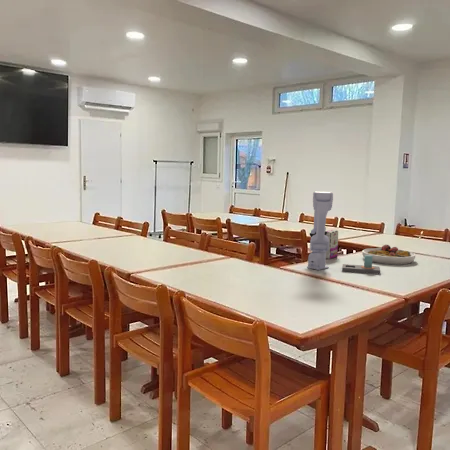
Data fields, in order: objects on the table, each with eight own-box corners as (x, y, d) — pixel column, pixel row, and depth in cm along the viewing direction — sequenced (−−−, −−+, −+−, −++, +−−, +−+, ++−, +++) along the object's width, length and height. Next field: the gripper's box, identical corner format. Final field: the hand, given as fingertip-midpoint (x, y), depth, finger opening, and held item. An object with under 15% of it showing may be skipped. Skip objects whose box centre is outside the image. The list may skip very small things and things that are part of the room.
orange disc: (370, 269, 234) (370, 269, 234) (358, 267, 239) (358, 266, 239) (377, 267, 239) (377, 267, 239) (365, 265, 244) (365, 265, 244)
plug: (369, 268, 236) (369, 257, 236) (362, 266, 239) (363, 255, 239) (373, 267, 239) (374, 256, 238) (366, 266, 242) (367, 254, 241)
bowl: (420, 267, 254) (420, 253, 253) (364, 264, 260) (365, 250, 259) (409, 257, 283) (410, 244, 282) (359, 254, 289) (360, 242, 288)
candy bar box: (330, 255, 282) (331, 229, 280) (337, 256, 279) (338, 230, 277) (322, 258, 274) (323, 231, 272) (330, 259, 270) (331, 232, 268)
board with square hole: (342, 271, 238) (342, 267, 238) (342, 267, 248) (342, 264, 247) (380, 274, 233) (380, 270, 233) (379, 270, 243) (379, 266, 242)
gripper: (319, 223, 249) (318, 247, 251) (331, 220, 260) (329, 243, 262) (308, 221, 253) (307, 245, 255) (320, 219, 265) (318, 242, 267)
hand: (317, 244), depth 259 cm, fingers open, 7 cm apart
